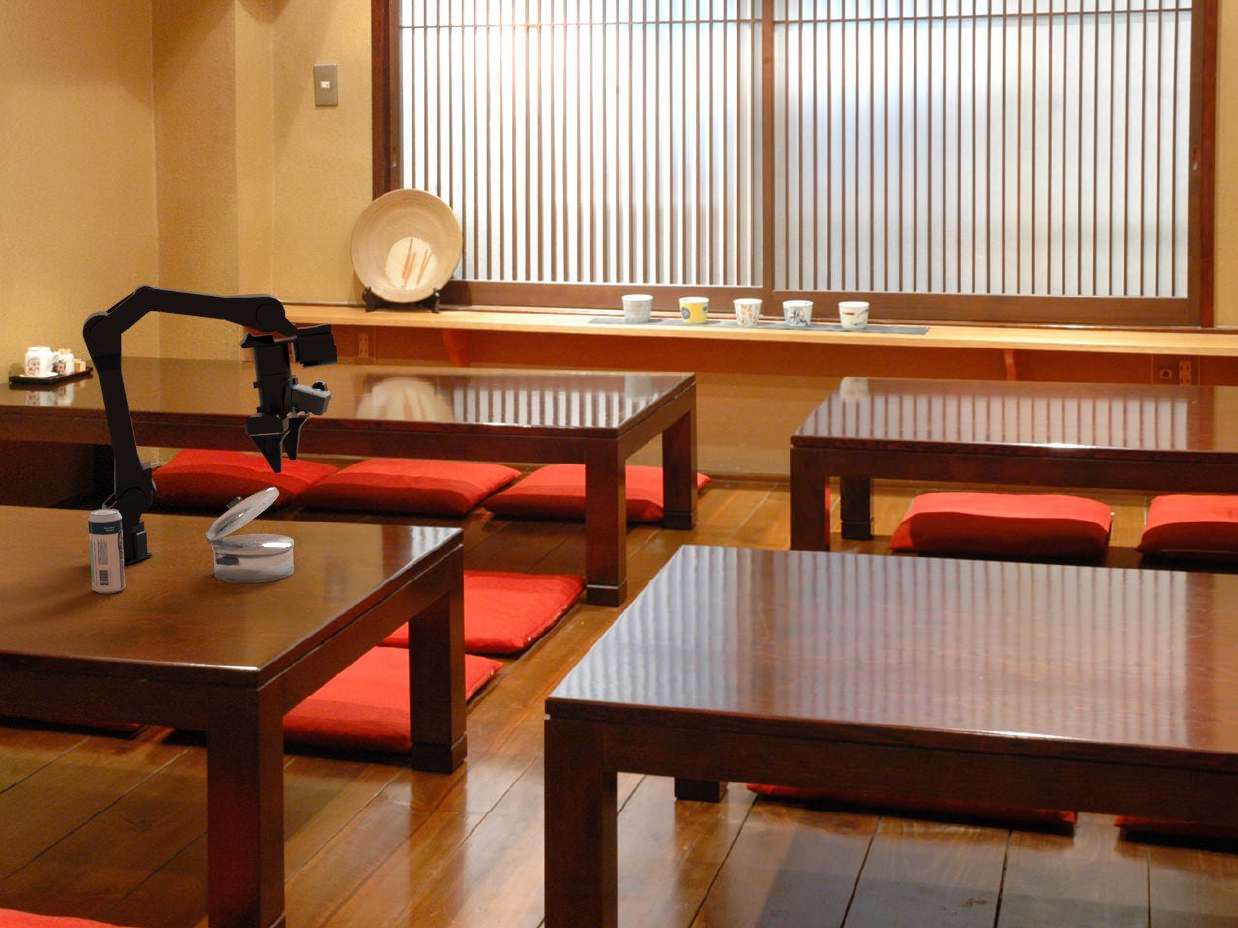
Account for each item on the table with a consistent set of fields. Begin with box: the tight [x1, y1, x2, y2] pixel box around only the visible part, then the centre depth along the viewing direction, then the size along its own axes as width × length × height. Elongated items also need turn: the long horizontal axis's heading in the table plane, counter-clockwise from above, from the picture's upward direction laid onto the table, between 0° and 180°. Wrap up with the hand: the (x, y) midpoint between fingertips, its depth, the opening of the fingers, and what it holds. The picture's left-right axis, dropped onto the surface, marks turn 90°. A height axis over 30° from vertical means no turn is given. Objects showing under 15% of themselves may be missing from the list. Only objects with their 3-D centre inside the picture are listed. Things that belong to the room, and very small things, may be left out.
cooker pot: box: [211, 533, 295, 584], centre depth 247 cm, size 12×16×5 cm
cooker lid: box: [205, 486, 280, 545], centre depth 246 cm, size 14×13×3 cm
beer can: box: [87, 508, 126, 595], centre depth 236 cm, size 5×5×12 cm
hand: (285, 466), depth 260 cm, fingers open, 9 cm apart
